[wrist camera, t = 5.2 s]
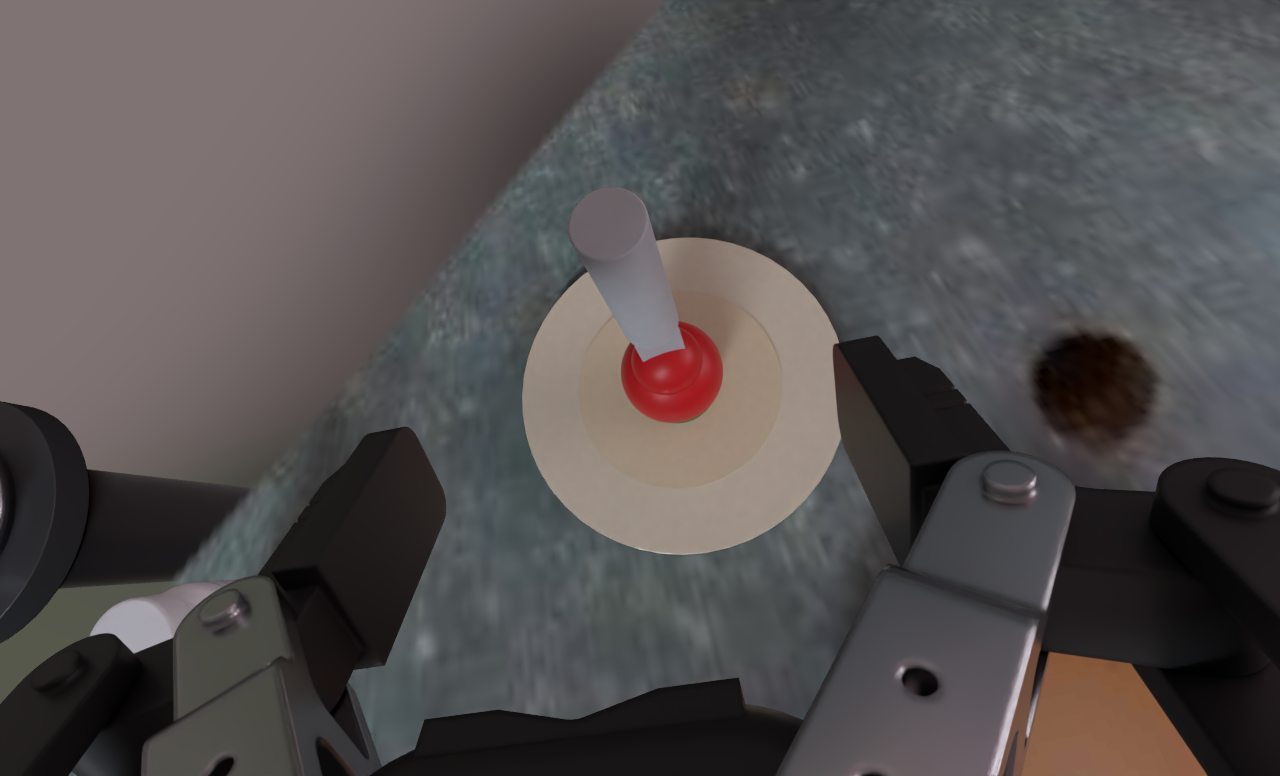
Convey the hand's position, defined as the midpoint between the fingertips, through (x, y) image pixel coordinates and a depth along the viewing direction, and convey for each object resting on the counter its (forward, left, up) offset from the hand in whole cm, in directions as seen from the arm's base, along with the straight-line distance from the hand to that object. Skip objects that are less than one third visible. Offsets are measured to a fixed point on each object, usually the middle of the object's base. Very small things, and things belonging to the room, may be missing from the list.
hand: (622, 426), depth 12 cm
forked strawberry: (-2, +5, -18) cm, 19 cm away
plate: (-2, +5, -19) cm, 20 cm away
